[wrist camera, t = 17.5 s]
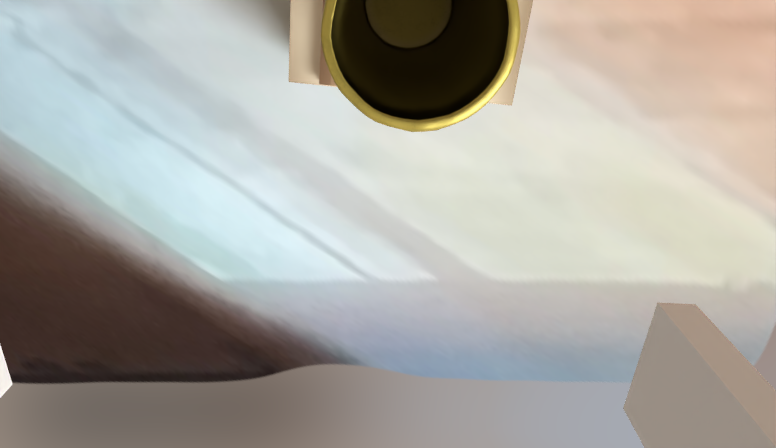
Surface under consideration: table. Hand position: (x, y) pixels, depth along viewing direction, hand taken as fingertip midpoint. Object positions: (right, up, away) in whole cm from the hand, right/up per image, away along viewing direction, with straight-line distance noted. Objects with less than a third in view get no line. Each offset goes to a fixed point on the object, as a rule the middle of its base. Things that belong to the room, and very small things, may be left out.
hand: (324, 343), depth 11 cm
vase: (+2, +13, +16) cm, 21 cm away
